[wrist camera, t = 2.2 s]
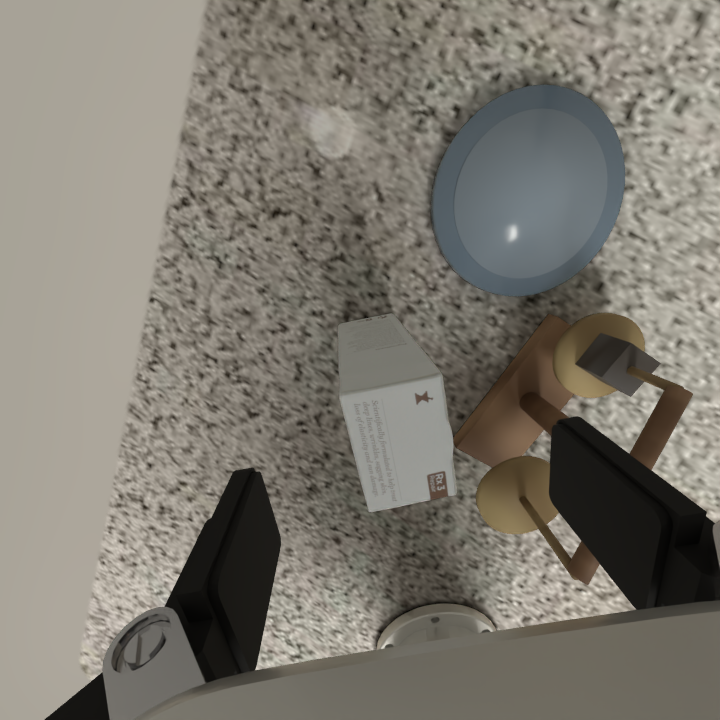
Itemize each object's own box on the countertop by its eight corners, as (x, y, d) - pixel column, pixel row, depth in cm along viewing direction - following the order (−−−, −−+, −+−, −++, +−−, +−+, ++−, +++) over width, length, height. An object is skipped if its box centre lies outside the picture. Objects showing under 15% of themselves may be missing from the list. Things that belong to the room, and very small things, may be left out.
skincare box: (335, 323, 24) (326, 390, 13) (396, 310, 24) (444, 366, 13) (353, 400, 26) (359, 519, 15) (410, 388, 26) (461, 499, 15)
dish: (605, 280, 24) (618, 281, 23) (438, 306, 24) (442, 309, 23) (620, 76, 20) (636, 67, 19) (422, 109, 20) (426, 101, 19)
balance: (489, 482, 29) (586, 640, 17) (436, 454, 28) (501, 603, 16) (617, 329, 25) (853, 399, 14) (561, 290, 24) (766, 328, 12)
